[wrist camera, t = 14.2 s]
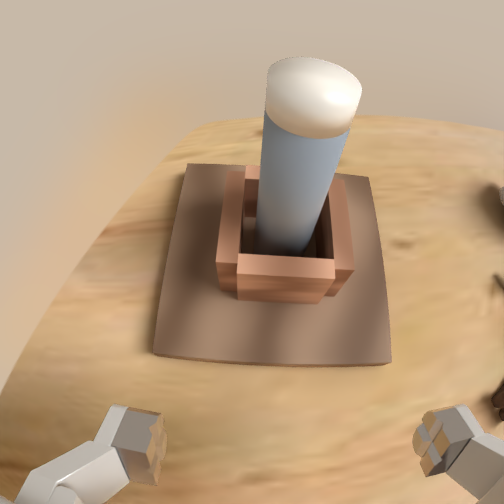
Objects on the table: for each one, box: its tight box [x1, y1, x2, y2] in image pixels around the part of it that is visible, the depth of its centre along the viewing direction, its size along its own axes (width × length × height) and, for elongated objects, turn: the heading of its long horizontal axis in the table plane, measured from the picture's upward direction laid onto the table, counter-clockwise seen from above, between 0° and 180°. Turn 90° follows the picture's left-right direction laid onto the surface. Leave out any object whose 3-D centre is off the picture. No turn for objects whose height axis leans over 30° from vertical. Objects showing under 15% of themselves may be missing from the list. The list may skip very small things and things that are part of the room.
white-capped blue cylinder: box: [254, 57, 362, 257], centre depth 17 cm, size 4×4×14 cm
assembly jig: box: [152, 164, 392, 367], centre depth 22 cm, size 16×16×6 cm
